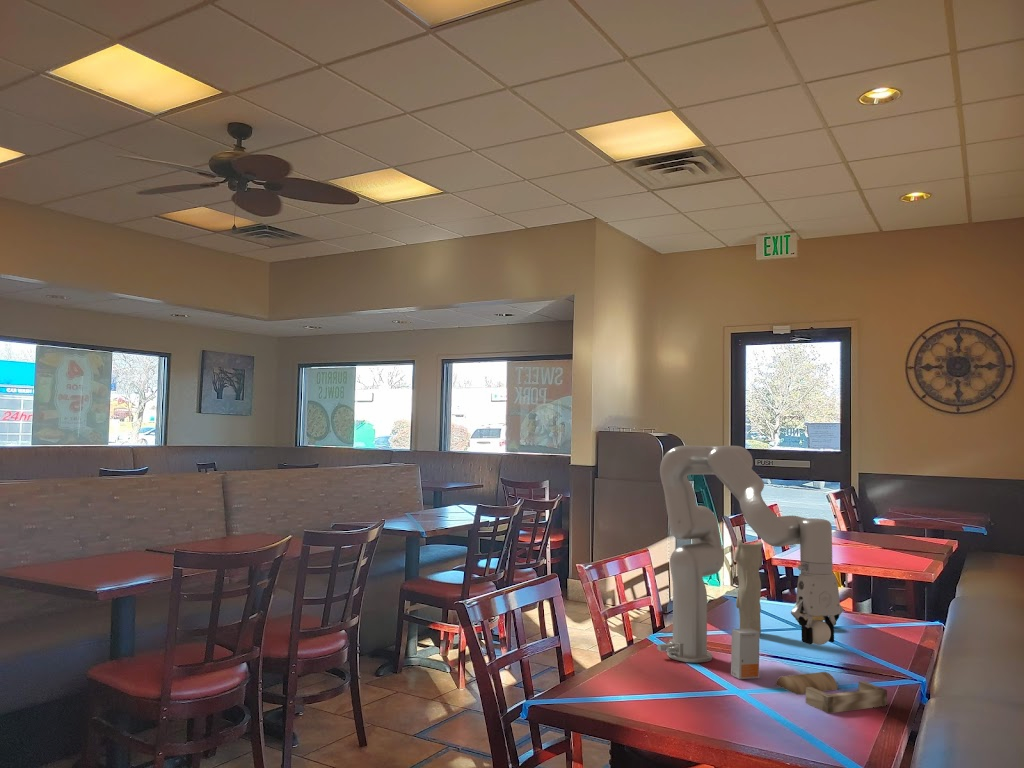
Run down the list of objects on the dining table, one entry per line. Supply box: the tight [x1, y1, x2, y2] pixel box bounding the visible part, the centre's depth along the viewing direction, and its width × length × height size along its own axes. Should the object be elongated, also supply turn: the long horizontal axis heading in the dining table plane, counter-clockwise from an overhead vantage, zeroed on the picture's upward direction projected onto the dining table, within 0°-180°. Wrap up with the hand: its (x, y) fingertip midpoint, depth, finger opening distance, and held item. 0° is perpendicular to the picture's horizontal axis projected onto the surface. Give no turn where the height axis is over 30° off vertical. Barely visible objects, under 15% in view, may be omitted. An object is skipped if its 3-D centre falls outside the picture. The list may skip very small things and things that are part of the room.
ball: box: [810, 620, 831, 646], centre depth 194 cm, size 6×6×6 cm
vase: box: [733, 538, 764, 634], centre depth 251 cm, size 9×8×30 cm
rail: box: [805, 680, 888, 714], centre depth 184 cm, size 18×7×4 cm, turn 110°
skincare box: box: [730, 628, 761, 680], centre depth 204 cm, size 6×4×12 cm
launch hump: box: [775, 671, 839, 695], centre depth 197 cm, size 13×8×8 cm, turn 110°
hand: (817, 641), depth 194 cm, fingers closed on ball, 6 cm apart
